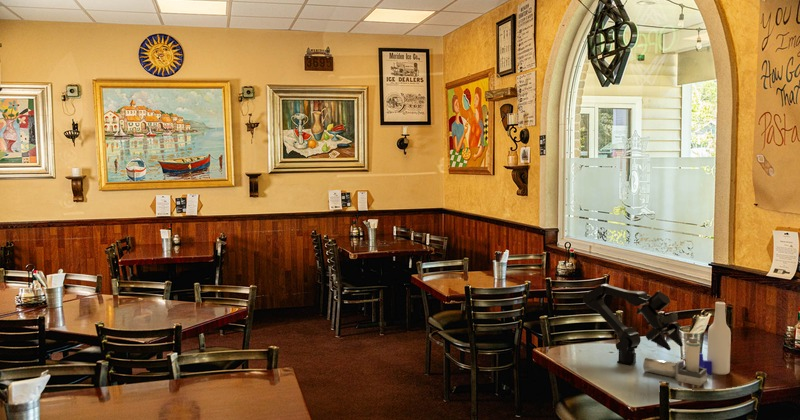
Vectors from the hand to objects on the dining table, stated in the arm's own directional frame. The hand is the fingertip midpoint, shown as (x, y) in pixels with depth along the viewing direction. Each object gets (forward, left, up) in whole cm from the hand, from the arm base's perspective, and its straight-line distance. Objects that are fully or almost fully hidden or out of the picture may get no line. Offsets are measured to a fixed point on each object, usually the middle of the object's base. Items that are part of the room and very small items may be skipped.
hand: (676, 348), depth 277 cm
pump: (+7, -2, -9) cm, 12 cm away
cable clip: (+6, +15, -12) cm, 20 cm away
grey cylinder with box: (-1, -2, -12) cm, 12 cm away
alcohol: (+12, +18, -12) cm, 25 cm away
